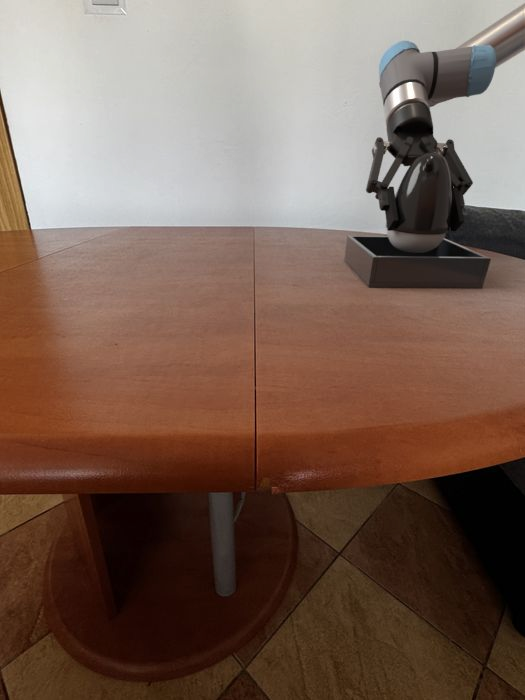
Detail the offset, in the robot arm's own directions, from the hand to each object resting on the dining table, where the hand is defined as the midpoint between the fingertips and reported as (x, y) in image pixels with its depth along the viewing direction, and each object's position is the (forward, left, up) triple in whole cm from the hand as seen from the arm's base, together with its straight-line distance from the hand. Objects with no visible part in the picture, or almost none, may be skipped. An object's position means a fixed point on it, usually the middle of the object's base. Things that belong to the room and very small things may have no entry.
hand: (425, 226), depth 61 cm
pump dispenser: (0, -3, -5) cm, 6 cm away
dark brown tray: (+1, -3, -8) cm, 9 cm away
